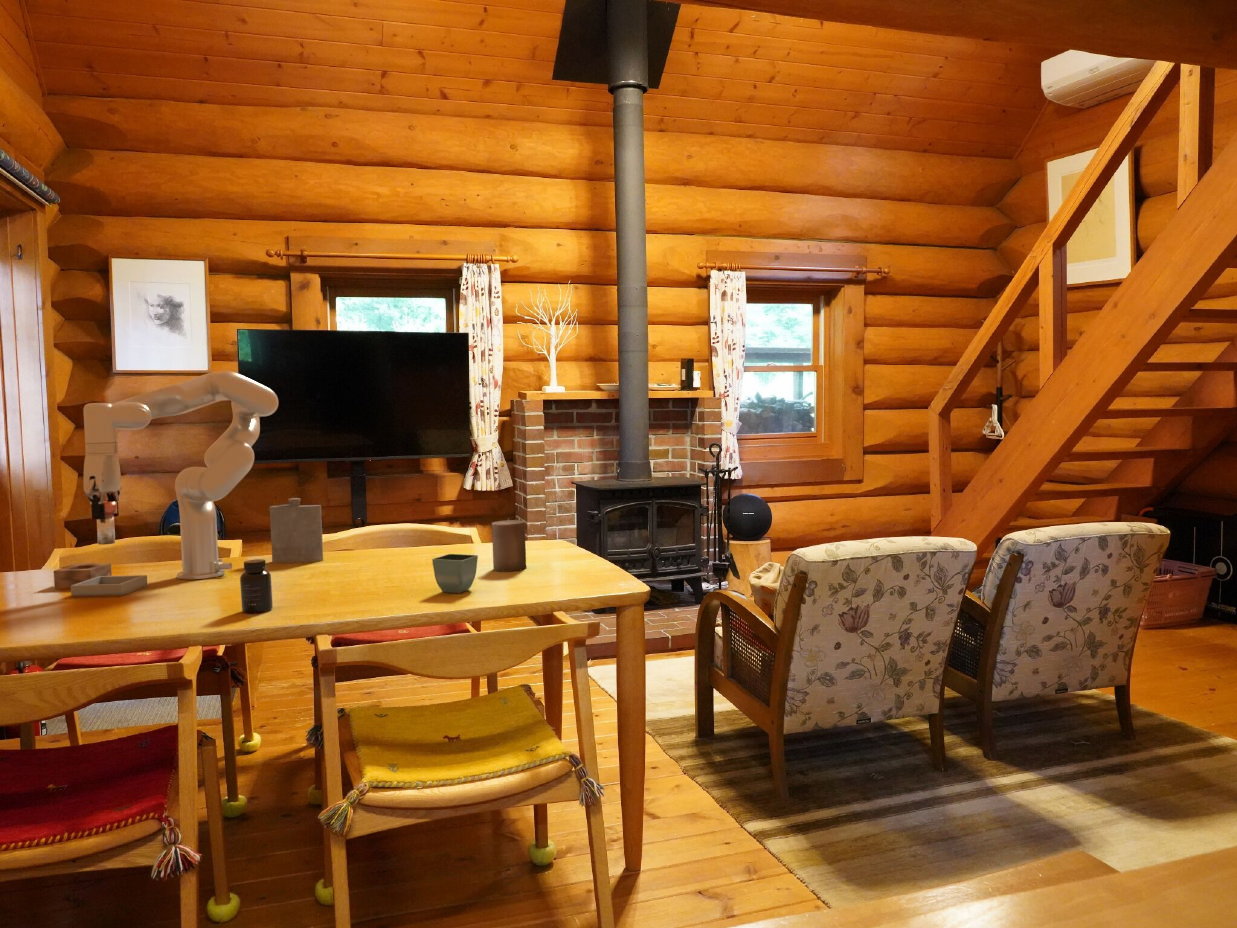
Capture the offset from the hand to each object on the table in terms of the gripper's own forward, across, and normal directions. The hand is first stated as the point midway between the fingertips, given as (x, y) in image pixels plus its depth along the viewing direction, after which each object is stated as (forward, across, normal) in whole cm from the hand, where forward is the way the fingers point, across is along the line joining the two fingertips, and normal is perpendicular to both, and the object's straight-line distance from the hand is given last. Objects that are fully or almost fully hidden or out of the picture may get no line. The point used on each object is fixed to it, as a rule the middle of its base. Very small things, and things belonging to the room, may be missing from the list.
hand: (105, 517), depth 238 cm
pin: (+7, 0, 0) cm, 7 cm away
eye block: (+20, -10, -13) cm, 26 cm away
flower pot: (+20, +9, +94) cm, 97 cm away
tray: (+20, 0, 0) cm, 20 cm away
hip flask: (+20, -42, +35) cm, 58 cm away
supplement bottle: (+20, +27, +50) cm, 60 cm away
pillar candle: (+20, -22, +104) cm, 108 cm away
